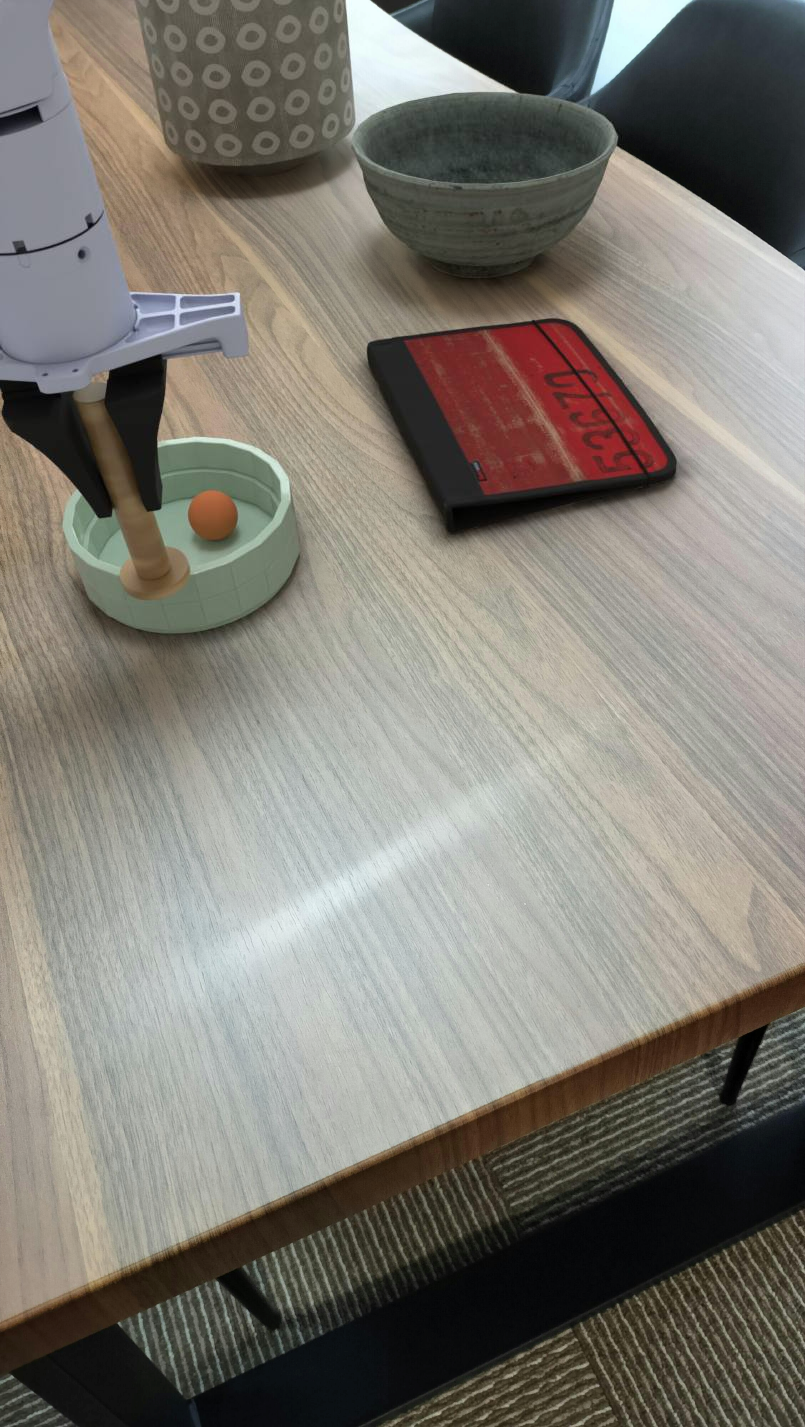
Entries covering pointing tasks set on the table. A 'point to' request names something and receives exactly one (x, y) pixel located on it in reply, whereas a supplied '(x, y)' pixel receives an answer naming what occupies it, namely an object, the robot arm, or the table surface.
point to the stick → (129, 506)
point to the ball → (212, 515)
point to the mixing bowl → (196, 539)
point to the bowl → (483, 175)
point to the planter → (249, 79)
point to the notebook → (516, 419)
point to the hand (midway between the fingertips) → (130, 501)
